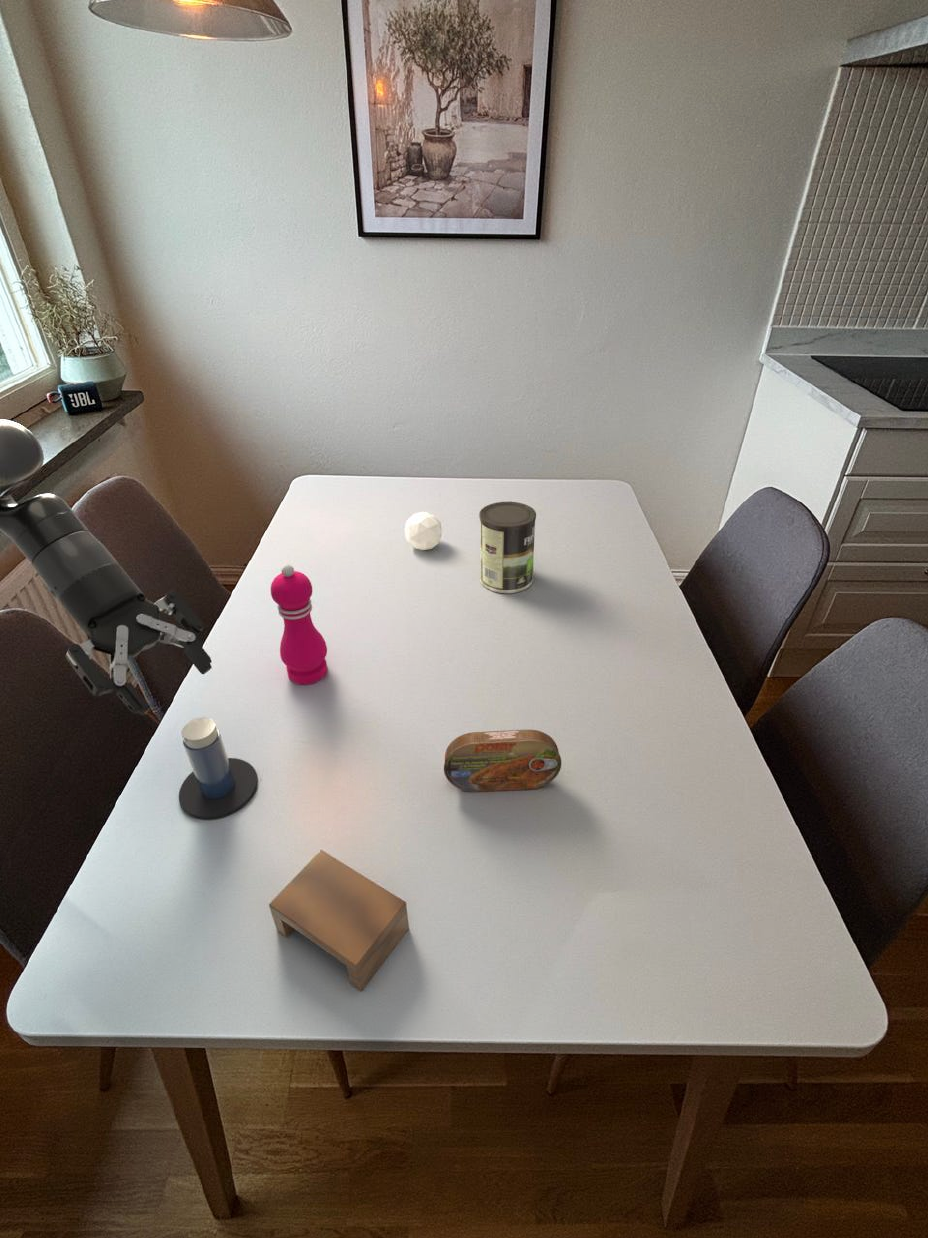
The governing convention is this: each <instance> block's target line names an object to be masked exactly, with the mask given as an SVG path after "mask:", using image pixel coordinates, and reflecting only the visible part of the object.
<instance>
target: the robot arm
mask: <svg viewBox="0 0 928 1238" xmlns="http://www.w3.org/2000/svg"><path fill="white" fill-rule="evenodd" d="M44 455H45V454H44V450H43V447H42V445H41V443H40V441H39V439H38V438H37V437H36V436H35V435H34V434H33V432H31V431H30V430H29V429H27V427H25V426H23V425H21V424H20V423H17V422H14V421H12V420H8V419H3V418H1V419H0V532H1V533H3V534H4V535H5V536H6V537H8V538H9V539H10V540H11V541H12V543H14V545H15V546H16V547H17V548H18V550H19V551H20V553H21V554H22V555H23V556H24V557H25V558H26V559H27V561H28V562H29V563H30V564H31V566H32V567H33V568H34V570H35V571H36V573H37V575H38V576H39V578H40V579H41V582H43V584H44V585H45V587H46V588H47V589H48V590H49V593H50V594H51V595H52V597H53V598H55V599H56V600H57V601H58V602H59V604H61V606H62V607H63V608H64V609H65V611H66V612H67V613H68V614H69V615H70V617H71V618H72V619H73V620H74V622H75V623H76V624H77V625H78V626H79V627H80V629H81V630H82V631H83V632H84V633H85V634H86V637H87V640H85V641H83V642H82V643H79V644H78V643H73V644H71V645H69V648H68V650H67V652H66V654H65V659H66V660H67V661H68V663H69V664H70V666H71V667H72V669H73V670H74V671H75V672H76V674H77V676H78V677H79V679H81V680H82V683H84V685H85V686H86V688H87V689H88V691H89V692H90V693H91V694H92V695H93V696H94V697H101V696H102V695H105V694H115V695H116V696H117V697H118V698H119V699H120V701H121V702H122V703H123V704H124V706H125V707H126V708H127V709H128V710H129V711H130V712H131V713H132V714H134V715H136V714H139V715H140V716H144V715H146V714H147V713H148V712H149V711H150V710H151V709H152V708H151V706H150V704H149V703H148V702H147V700H146V699H145V698H144V697H143V695H142V694H141V693H140V692H139V690H138V689H137V688H136V687H135V686H134V685H133V683H132V682H131V681H129V682H127V666H128V660H133V659H134V658H137V656H138V655H139V654H140V653H141V652H143V651H147V650H149V649H151V648H153V647H155V645H156V644H157V643H161V644H164V645H172V646H175V647H179V648H183V649H184V650H183V653H184V655H186V657H187V658H188V659H189V661H190V662H191V663H192V664H193V666H194V667H195V668H196V669H197V671H198V672H199V673H200V674H201V675H205V674H207V673H208V672H209V671H210V670H211V669H212V664H211V663H212V659H211V656H210V655H209V654H208V653H207V651H206V650H205V649H204V648H203V647H202V645H201V644H200V643H199V641H198V636H199V635H200V634H201V632H202V630H204V628H205V623H204V622H203V621H202V620H201V619H200V618H199V616H198V615H197V614H196V613H195V612H194V611H193V610H192V609H191V608H190V607H189V606H188V605H187V603H186V602H185V601H184V600H183V599H182V598H181V596H180V595H179V594H178V593H177V592H176V591H175V590H169V591H168V592H167V593H166V594H165V595H164V597H162V598H160V599H158V600H157V601H155V602H152V601H150V600H149V599H147V598H146V596H145V595H144V594H143V592H142V590H141V589H140V588H139V586H137V585H136V583H135V582H134V581H133V579H132V578H131V576H129V574H128V573H127V571H126V570H124V568H123V567H122V566H121V564H120V563H119V562H118V560H117V559H116V558H115V557H114V556H113V555H112V554H111V552H110V551H109V550H108V549H107V547H106V546H105V545H104V544H103V543H102V542H101V541H100V540H99V539H97V537H96V536H95V535H94V534H93V533H92V532H91V531H90V530H89V529H88V527H87V526H86V525H85V524H84V522H83V521H82V520H81V519H80V517H79V516H78V515H77V513H75V511H74V510H73V509H72V508H71V506H70V505H69V504H68V503H67V502H66V501H65V500H64V499H63V498H61V496H59V495H56V494H52V493H43V494H38V495H36V496H33V497H30V498H28V499H26V500H24V501H21V502H19V503H17V502H16V500H14V498H13V497H12V496H13V495H14V494H15V493H16V492H17V491H18V490H20V489H21V488H22V487H23V486H24V485H25V484H27V483H28V482H29V481H30V480H31V479H32V478H34V477H35V476H36V475H37V474H39V472H40V471H41V469H43V468H42V467H43V466H44V460H45V457H44ZM161 612H163V613H164V614H165V615H168V616H172V617H173V618H174V619H175V620H176V622H177V623H178V624H179V625H180V626H181V627H182V628H180V627H178V626H177V625H176V624H173V623H169V622H166V621H164V620H161ZM92 650H94V651H97V652H100V653H103V654H106V655H109V668H108V669H109V670H108V671H109V678H107V679H105V678H104V676H103V675H102V673H101V672H100V671H99V670H98V668H97V667H96V665H95V664H94V662H93V661H92V660H93V657H94V654H93V652H92Z"/></svg>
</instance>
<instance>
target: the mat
mask: <svg viewBox="0 0 928 1238" xmlns="http://www.w3.org/2000/svg"><path fill="white" fill-rule="evenodd" d="M228 760H229V763H230V766H231V769H232V773H233V776H234V779H235V785H234V788H233V789H232V790H231V792H229V793H228V794H227V795H225V796H223V797H221V798H217V799H209V798H206V797H204V796H203V795H202V794H201V791H200V788H199V786H198V783H197V780H196V777H195V775H194V772H193V771H192V772H191V773H190V774H188V775H187V777H185V779H184V780H183V781H182V784H181V785H180V788H179V792H178V801H179V805H180V806H181V809H182V810H183V811H184V812H185V814H187V815H189V816H190V817H192V818H193V819H197V820H203V821H211V820H218V819H222V818H226V817H228V816H231V815H232V814H234V813H237V812H239V810H241V809H243V808H244V807H245V806H246V805H248V803H250V801H251V800H252V799H253V797H254V796H255V794H256V792H257V789H258V786H259V778H258V773H257V771H256V768H255V767H254V766H253V765H252V764H250V763H249V762H248V761H247V760H243V759H240V758H236V757H228Z"/></svg>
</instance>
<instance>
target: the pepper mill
mask: <svg viewBox="0 0 928 1238" xmlns="http://www.w3.org/2000/svg"><path fill="white" fill-rule="evenodd" d="M312 595H313V585H312V582H311V580H310V579H309V577H308V576H307V575H305V574H304V573H303V572H300V571H297V570H295V569H294V567H293V566H292V565H291V564H284V565H283V566H282V568H281V573H279V574H277V575H276V576H275V577H274V578H273V580H272V582H271V583H270V597H271V598H272V600H273V602H275V603H276V604H277V605H276V606H277V607H276V608H277V613H278V615H279V617H281V618H282V619H283V625H284V626H283V634H282V636H281V639H280V643H279V644H280V646H279V656H280V659H281V662H283V664H284V665H285V666H286V673H287V677H288V679H289V680H290V681H291V682H292V683H294V684H298V685H312V684H314V683H318V682H319V681H321V680H322V679H323V678H324V677H326V675H327V673H328V665H327V660H326V657H327V654H328V647H327V643H326V640H325V638H324V637H323V635H322V634H321V632H319V630H318V629H317V627H316V626H315V624H314V622H313V619H312V616H311V612H312V610H313V604H312V600H311V597H312Z"/></svg>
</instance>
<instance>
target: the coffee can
mask: <svg viewBox="0 0 928 1238" xmlns="http://www.w3.org/2000/svg"><path fill="white" fill-rule="evenodd" d="M478 517H479V525H480V526H479V537H480V539H479V542H480V543H479V545H480V546H479V549H480V553H479V554H480V555H479V557H480V559H479V560H480V575H479V576H480V578H479V580H480V581H479V582H480V583H481V585H482V586H483V587H484V588H485V589H487V590H489V591H491V592H495V593H498V594H515V593H520V592H522V591H525V590H527V589H528V588H530V587H531V586H532V584H533V581H534V576H533V575H534V555H535V553H534V552H535V536H536V535H535V532H536V519H537V512H536V510H535V509H534V508H533V507H532V506H530V505H528V504H526V503H522V502H518V501H498V502H497V501H496V502H493V503H490V504H487V505H485V506H484V507H482V508H481V509H480V511H479V515H478Z"/></svg>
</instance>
